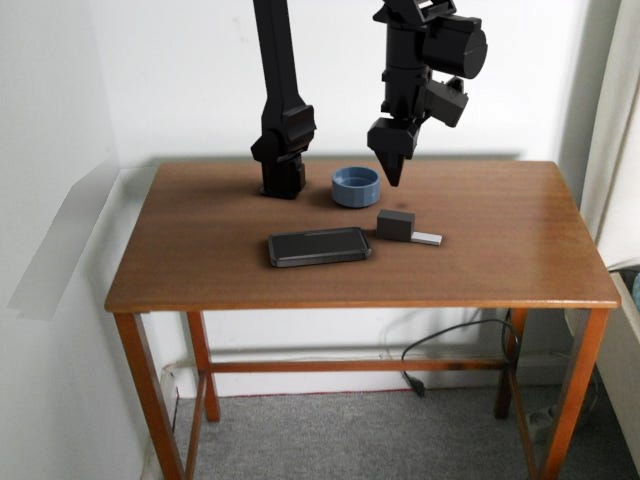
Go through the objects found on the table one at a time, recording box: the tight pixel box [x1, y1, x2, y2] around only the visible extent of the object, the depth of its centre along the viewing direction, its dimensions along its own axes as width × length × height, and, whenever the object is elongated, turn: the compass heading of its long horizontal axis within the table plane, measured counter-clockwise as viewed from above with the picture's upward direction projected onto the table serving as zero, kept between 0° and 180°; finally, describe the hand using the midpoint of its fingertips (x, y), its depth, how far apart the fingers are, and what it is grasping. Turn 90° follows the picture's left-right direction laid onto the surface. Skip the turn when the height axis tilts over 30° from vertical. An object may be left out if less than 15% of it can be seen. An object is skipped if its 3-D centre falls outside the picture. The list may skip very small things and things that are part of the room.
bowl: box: [331, 165, 382, 209], centre depth 114 cm, size 8×8×4 cm
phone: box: [267, 226, 372, 268], centre depth 102 cm, size 8×1×15 cm
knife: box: [376, 208, 443, 246], centre depth 105 cm, size 10×3×4 cm, turn 75°
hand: (401, 172), depth 99 cm, fingers open, 9 cm apart
